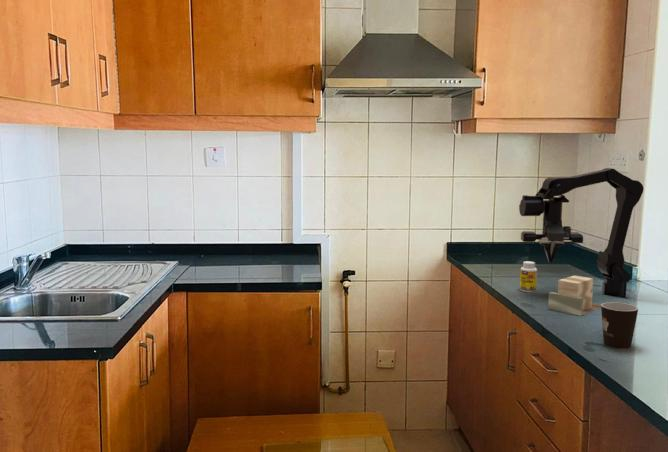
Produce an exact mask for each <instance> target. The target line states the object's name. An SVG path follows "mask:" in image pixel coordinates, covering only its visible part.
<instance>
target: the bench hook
mask: <svg viewBox="0 0 668 452" xmlns="http://www.w3.org/2000/svg"><path fill="white" fill-rule="evenodd" d="M547 308H548V310H551V311H556V312H560V313H565V314H569V315H574V316H578V317H579V316H580V317H581V316H583V315H586V314H588V313H592V312H593V311H594V312H595V310H599V309H601V304H600V303H593V302H592V307H591V308H589V309H586V310H584V311H583V298H580V297H575V296H570V295H565V294H559V293H558V292H555V291H554V292H553V291H550V292H548V307H547Z"/></svg>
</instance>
